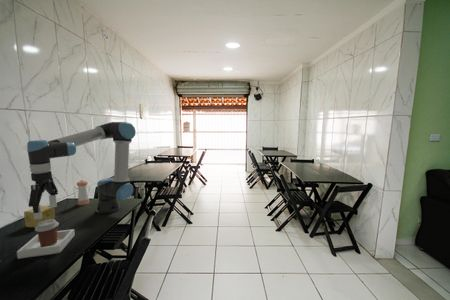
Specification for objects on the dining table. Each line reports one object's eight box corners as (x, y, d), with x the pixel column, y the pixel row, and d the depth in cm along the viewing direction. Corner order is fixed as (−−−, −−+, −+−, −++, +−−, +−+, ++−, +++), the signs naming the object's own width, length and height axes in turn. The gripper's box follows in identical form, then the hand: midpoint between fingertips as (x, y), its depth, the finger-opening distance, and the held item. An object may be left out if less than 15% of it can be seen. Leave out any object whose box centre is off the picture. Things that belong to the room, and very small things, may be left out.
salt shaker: (84, 201, 164) (82, 178, 162) (91, 202, 162) (89, 179, 160) (75, 204, 157) (73, 180, 155) (82, 205, 155) (80, 181, 153)
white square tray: (74, 235, 114) (74, 229, 113) (59, 252, 98) (59, 246, 98) (39, 239, 109) (38, 233, 109) (17, 258, 93) (16, 251, 93)
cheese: (38, 229, 120) (36, 213, 119) (24, 227, 122) (22, 211, 121) (55, 221, 130) (54, 206, 129) (42, 219, 133) (41, 205, 131)
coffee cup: (44, 251, 98) (42, 228, 97) (32, 247, 101) (30, 225, 100) (64, 241, 107) (62, 220, 105) (53, 238, 110) (51, 217, 108)
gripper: (46, 166, 110) (51, 203, 113) (13, 179, 86) (20, 225, 89) (62, 166, 112) (66, 202, 115) (34, 177, 88) (40, 223, 91)
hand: (46, 212), depth 102 cm, fingers open, 13 cm apart
